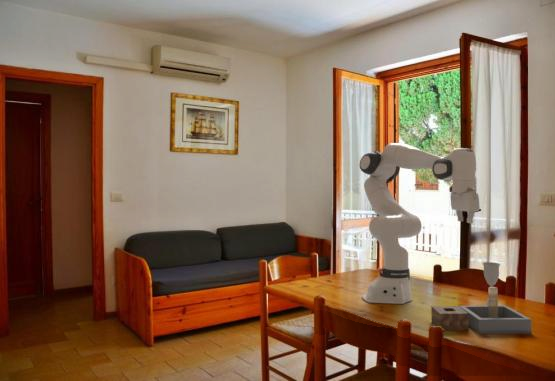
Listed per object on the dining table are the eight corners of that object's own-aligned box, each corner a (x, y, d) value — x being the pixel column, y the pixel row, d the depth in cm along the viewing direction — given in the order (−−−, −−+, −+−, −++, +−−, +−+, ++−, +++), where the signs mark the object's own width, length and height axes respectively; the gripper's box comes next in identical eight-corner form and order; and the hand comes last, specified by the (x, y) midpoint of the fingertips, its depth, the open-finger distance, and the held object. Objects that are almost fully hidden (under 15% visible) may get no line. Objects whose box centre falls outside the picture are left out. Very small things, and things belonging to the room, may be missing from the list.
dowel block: (440, 330, 158) (440, 313, 158) (431, 321, 168) (431, 306, 168) (468, 330, 157) (468, 313, 157) (458, 321, 167) (457, 306, 167)
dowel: (497, 324, 160) (497, 289, 160) (488, 323, 161) (488, 288, 161) (498, 322, 162) (497, 287, 162) (489, 321, 164) (488, 286, 164)
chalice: (479, 303, 193) (479, 262, 193) (494, 302, 193) (493, 262, 193) (489, 307, 186) (488, 265, 186) (504, 307, 186) (503, 264, 186)
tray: (479, 333, 153) (478, 319, 153) (459, 318, 171) (459, 305, 171) (531, 333, 153) (531, 319, 153) (506, 318, 171) (506, 305, 171)
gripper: (483, 187, 166) (484, 224, 166) (462, 187, 187) (463, 220, 187) (466, 187, 167) (467, 224, 167) (447, 188, 187) (448, 220, 187)
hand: (464, 222), depth 177 cm, fingers open, 8 cm apart
